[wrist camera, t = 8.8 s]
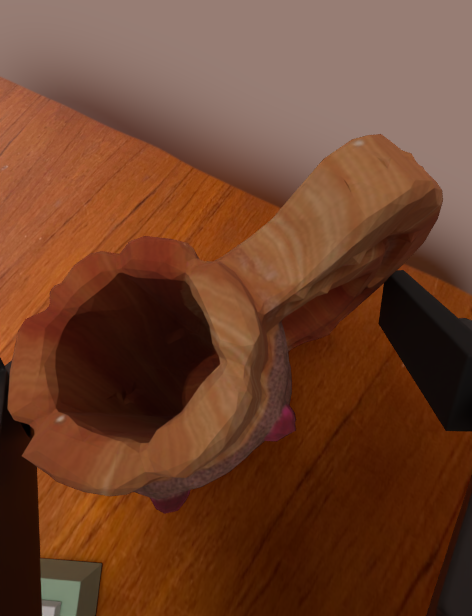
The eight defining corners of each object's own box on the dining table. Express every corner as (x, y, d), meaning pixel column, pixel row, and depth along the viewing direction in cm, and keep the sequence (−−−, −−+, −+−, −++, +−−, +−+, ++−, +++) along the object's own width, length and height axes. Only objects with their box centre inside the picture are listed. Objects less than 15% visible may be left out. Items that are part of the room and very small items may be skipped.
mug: (196, 487, 19) (-58, 712, 5) (142, 373, 22) (-120, 300, 7) (390, 359, 20) (670, 223, 6) (314, 265, 22) (370, 17, 8)
